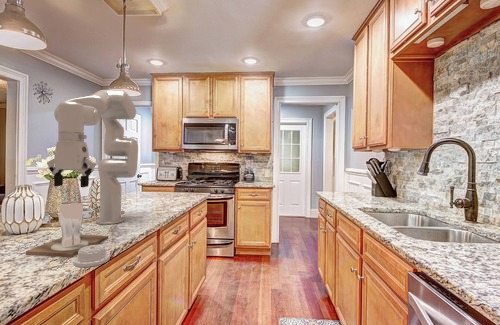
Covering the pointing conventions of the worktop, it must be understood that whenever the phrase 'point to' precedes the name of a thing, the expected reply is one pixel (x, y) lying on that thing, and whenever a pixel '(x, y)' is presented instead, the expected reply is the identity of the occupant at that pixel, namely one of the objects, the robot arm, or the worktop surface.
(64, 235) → the beer glass
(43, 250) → the carrier plate
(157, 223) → the worktop surface
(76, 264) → the mechanical component
